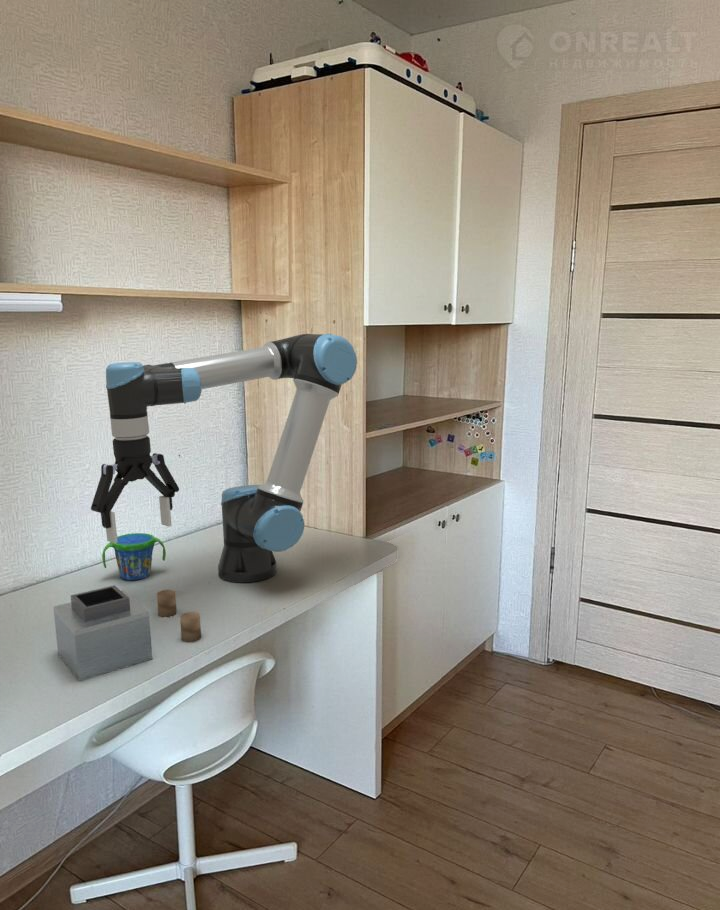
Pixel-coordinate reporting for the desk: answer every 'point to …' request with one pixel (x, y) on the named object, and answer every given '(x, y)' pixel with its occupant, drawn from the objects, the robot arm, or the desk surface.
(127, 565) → the snack cup
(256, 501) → the robot arm
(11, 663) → the desk surface
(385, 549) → the desk surface
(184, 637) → the pellet
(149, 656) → the grey block with socket
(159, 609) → the pellet
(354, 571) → the desk surface
